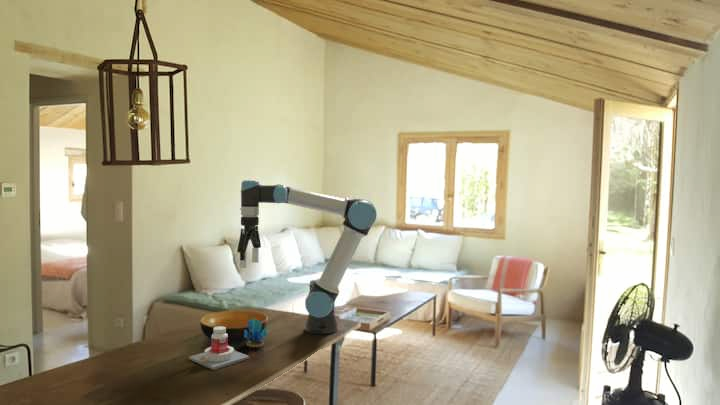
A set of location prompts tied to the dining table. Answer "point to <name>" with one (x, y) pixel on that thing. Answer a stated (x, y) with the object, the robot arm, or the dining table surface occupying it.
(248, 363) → the dining table surface
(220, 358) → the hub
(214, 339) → the pill bottle
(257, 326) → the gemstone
